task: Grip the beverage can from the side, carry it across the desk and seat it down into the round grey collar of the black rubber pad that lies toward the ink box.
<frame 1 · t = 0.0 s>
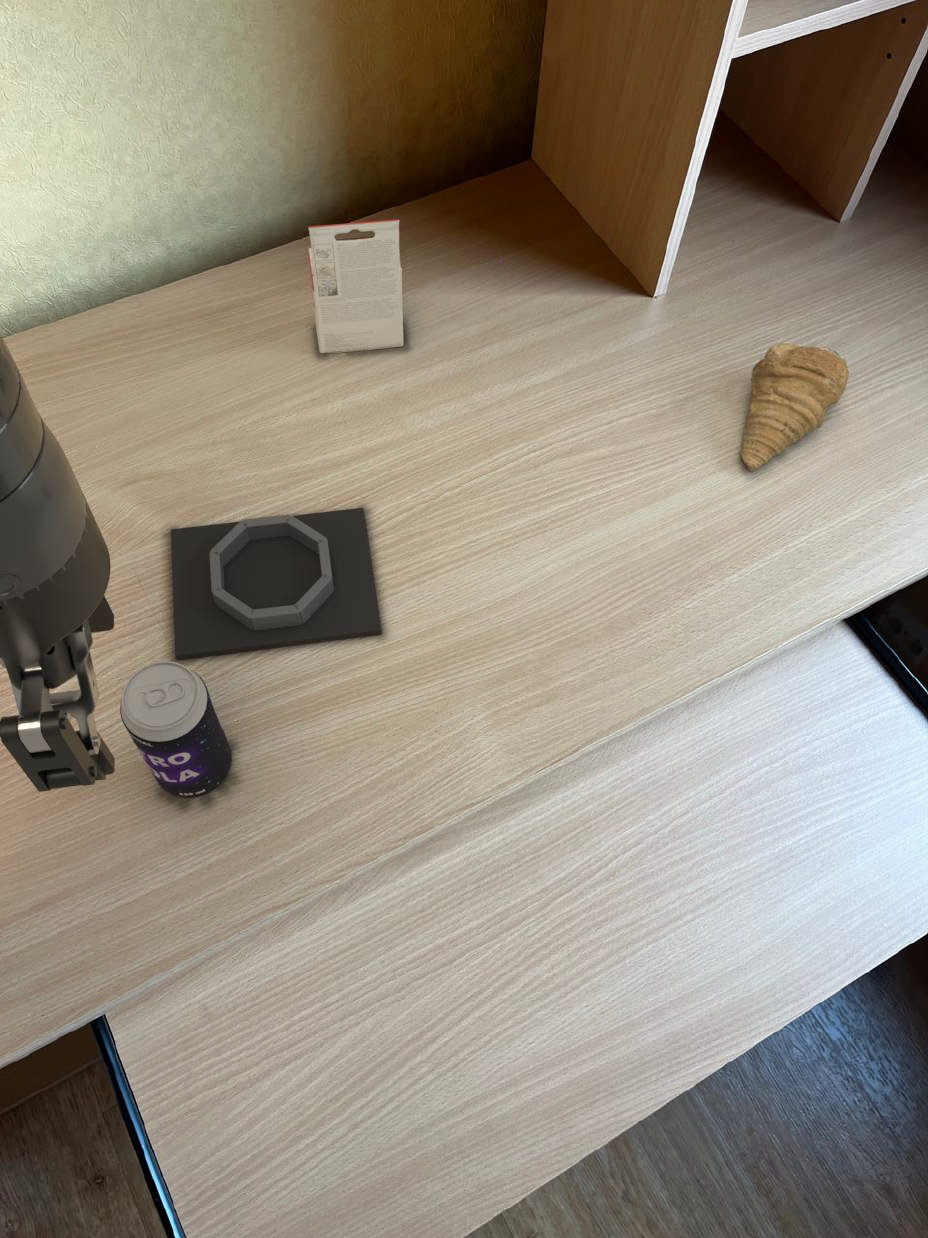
hand: (95, 696, 56), 22 cm above the table, tool pointing down, fingers open, 8 cm apart
ink box: (359, 340, 100), on the table
seashell: (781, 421, 97), on the table
socket pad: (274, 583, 86), on the table
beverage can: (195, 766, 78), on the table
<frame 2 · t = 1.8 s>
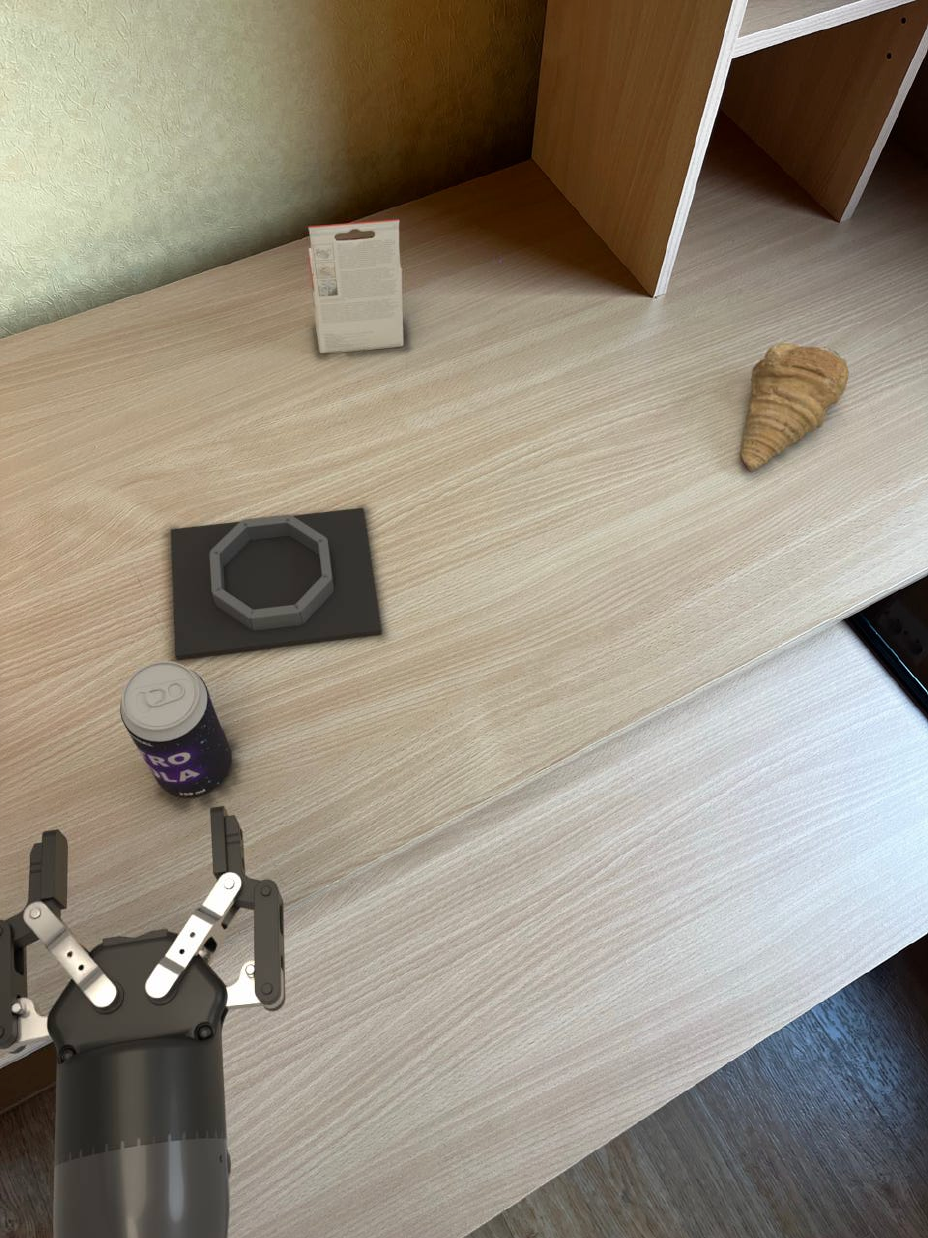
hand: (137, 822, 56), 19 cm above the table, tool horizontal, fingers open, 8 cm apart
nothing on the table moved.
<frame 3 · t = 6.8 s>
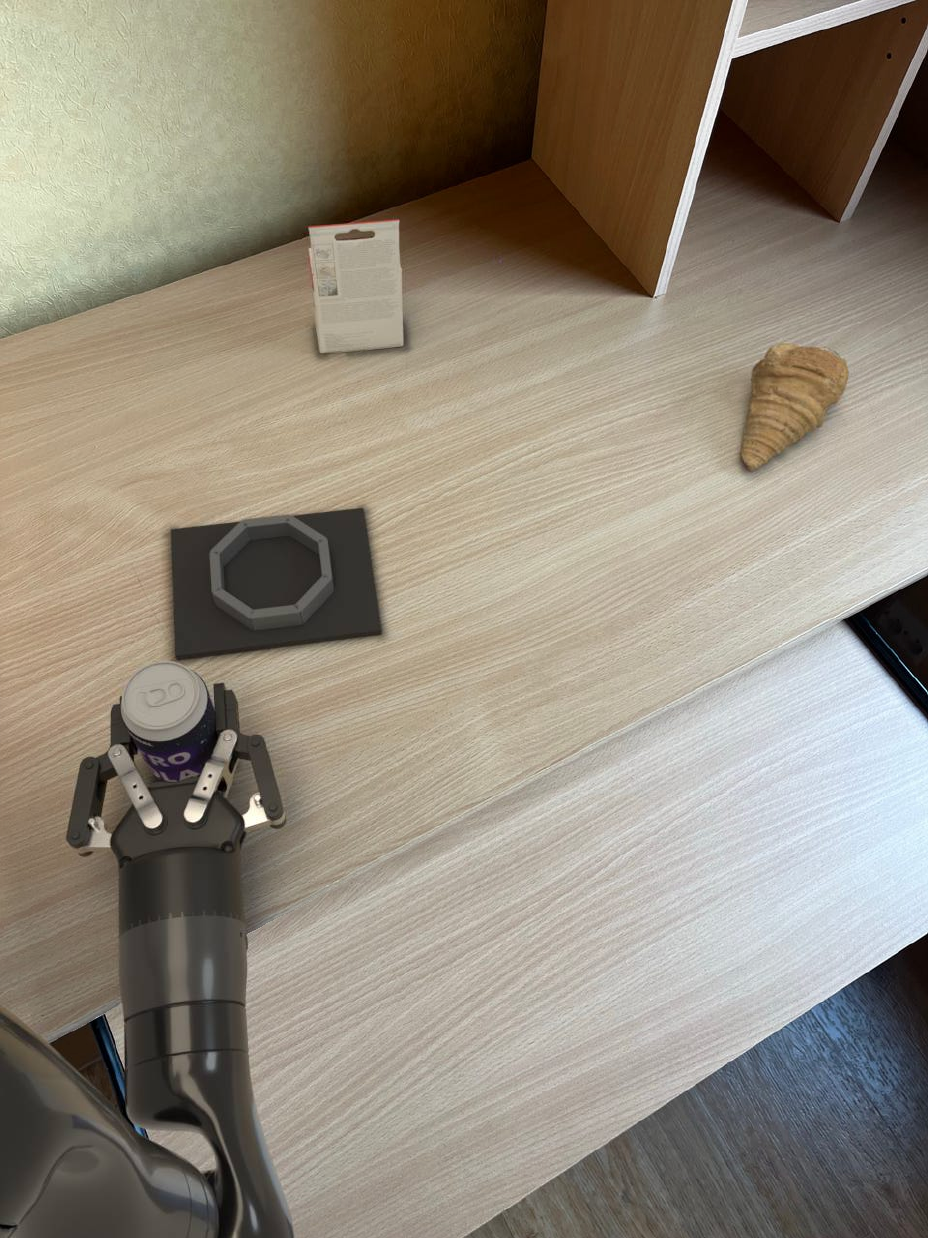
hand: (174, 694, 73), 7 cm above the table, tool horizontal, fingers closed on beverage can, 5 cm apart
beverage can: (195, 767, 78), on the table, touching gripper
everything else where it was.
when the fingers open (8 cm above the table, at t = 14.6 s): beverage can stays where it is, resting on socket pad.
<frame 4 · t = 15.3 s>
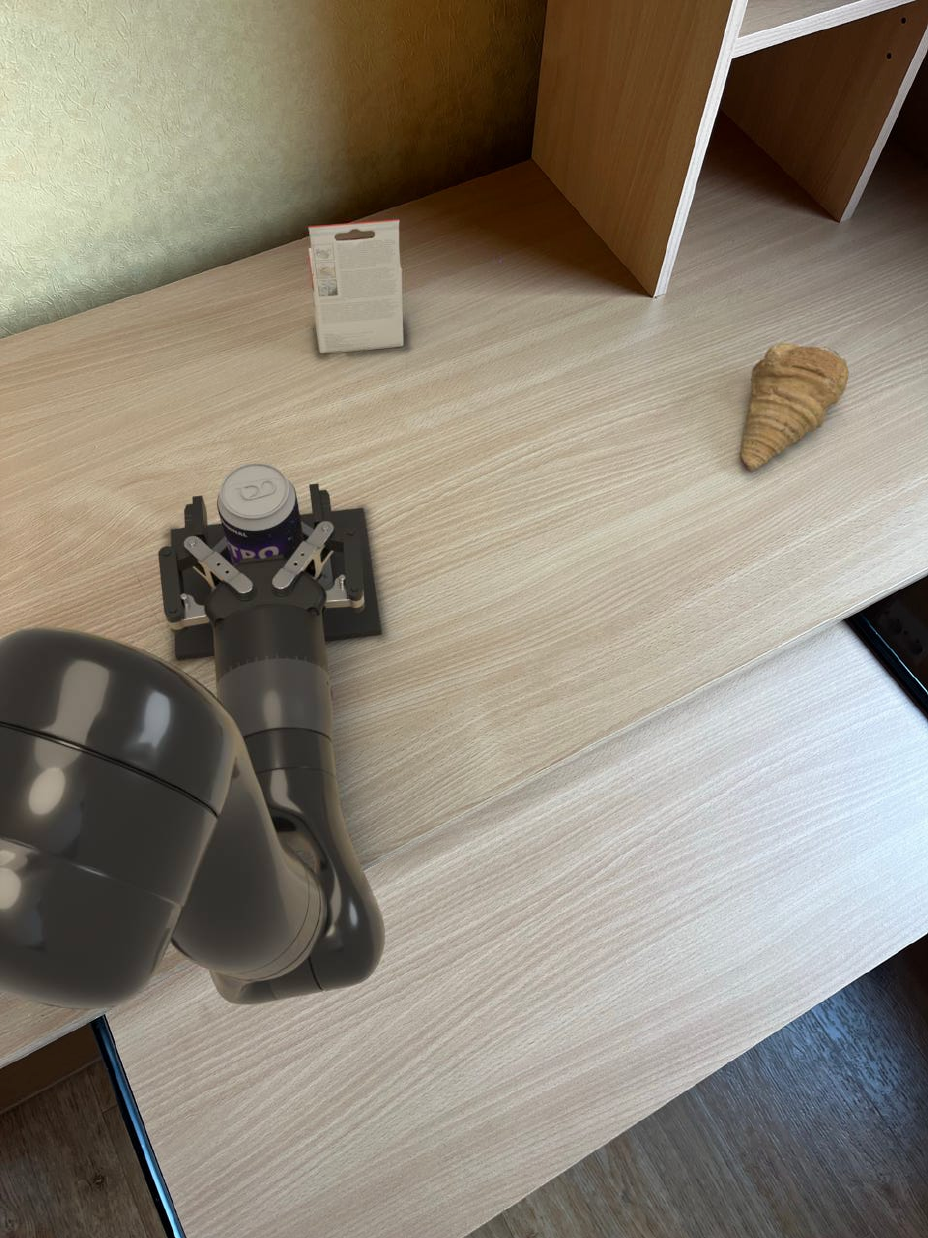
hand: (257, 495, 79), 9 cm above the table, tool horizontal, fingers open, 8 cm apart
beverage can: (274, 580, 86), point 1 cm above the table, touching socket pad
everything else where it was.
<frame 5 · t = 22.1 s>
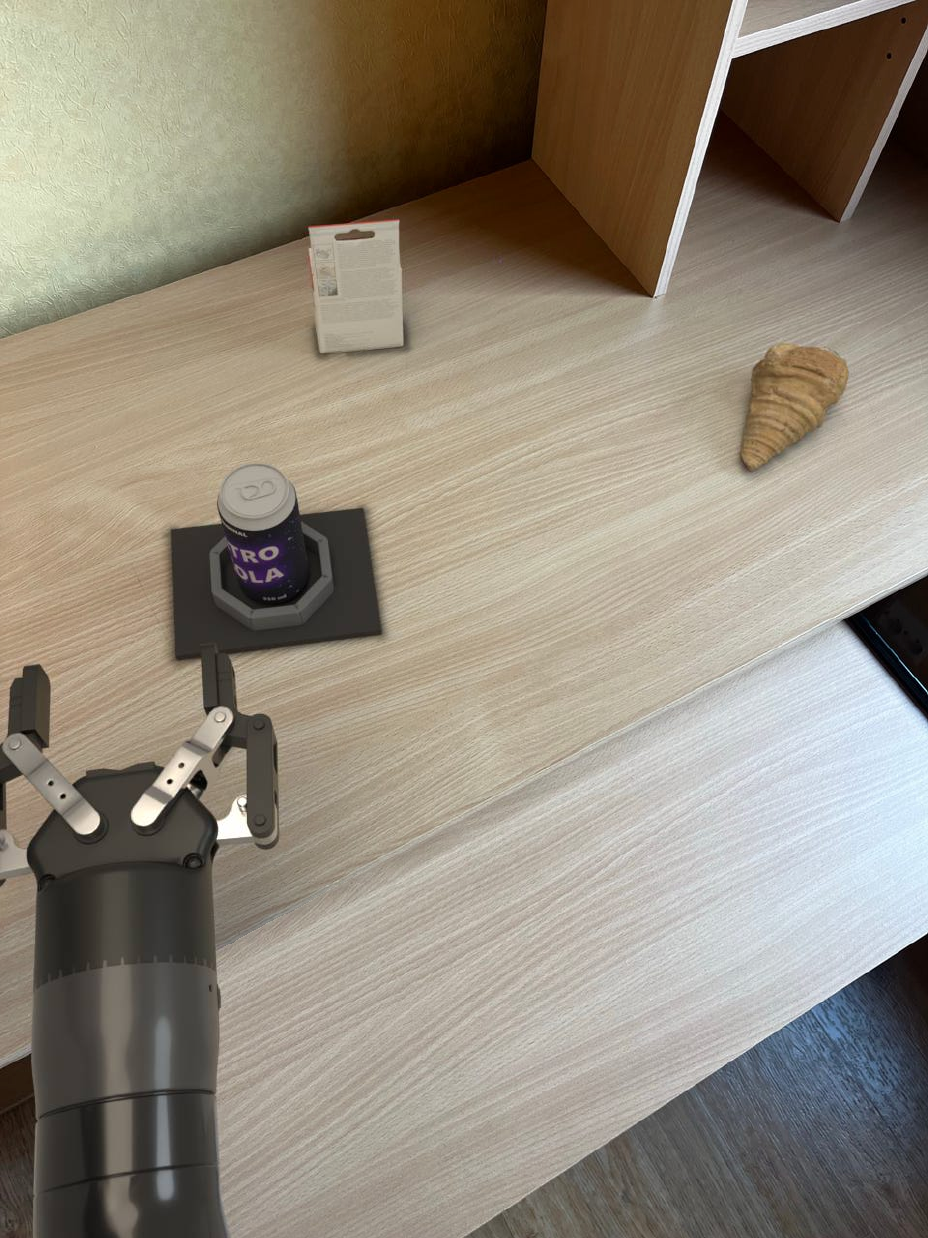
hand: (124, 661, 53), 26 cm above the table, tool horizontal, fingers open, 8 cm apart
nothing on the table moved.
at the end: beverage can 0.1 cm off-centre on the socket pad, point 0.6 cm above the socket pad's base; beverage can tilted 0°; beverage can 28.0 cm from the ink box (horizontally) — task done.
